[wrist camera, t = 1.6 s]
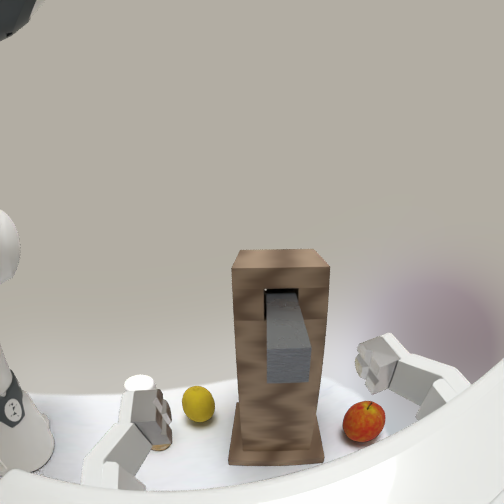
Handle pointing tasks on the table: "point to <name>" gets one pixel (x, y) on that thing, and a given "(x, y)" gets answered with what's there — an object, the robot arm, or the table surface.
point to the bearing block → (255, 359)
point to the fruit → (364, 421)
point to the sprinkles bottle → (143, 384)
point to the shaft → (286, 338)
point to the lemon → (198, 404)
